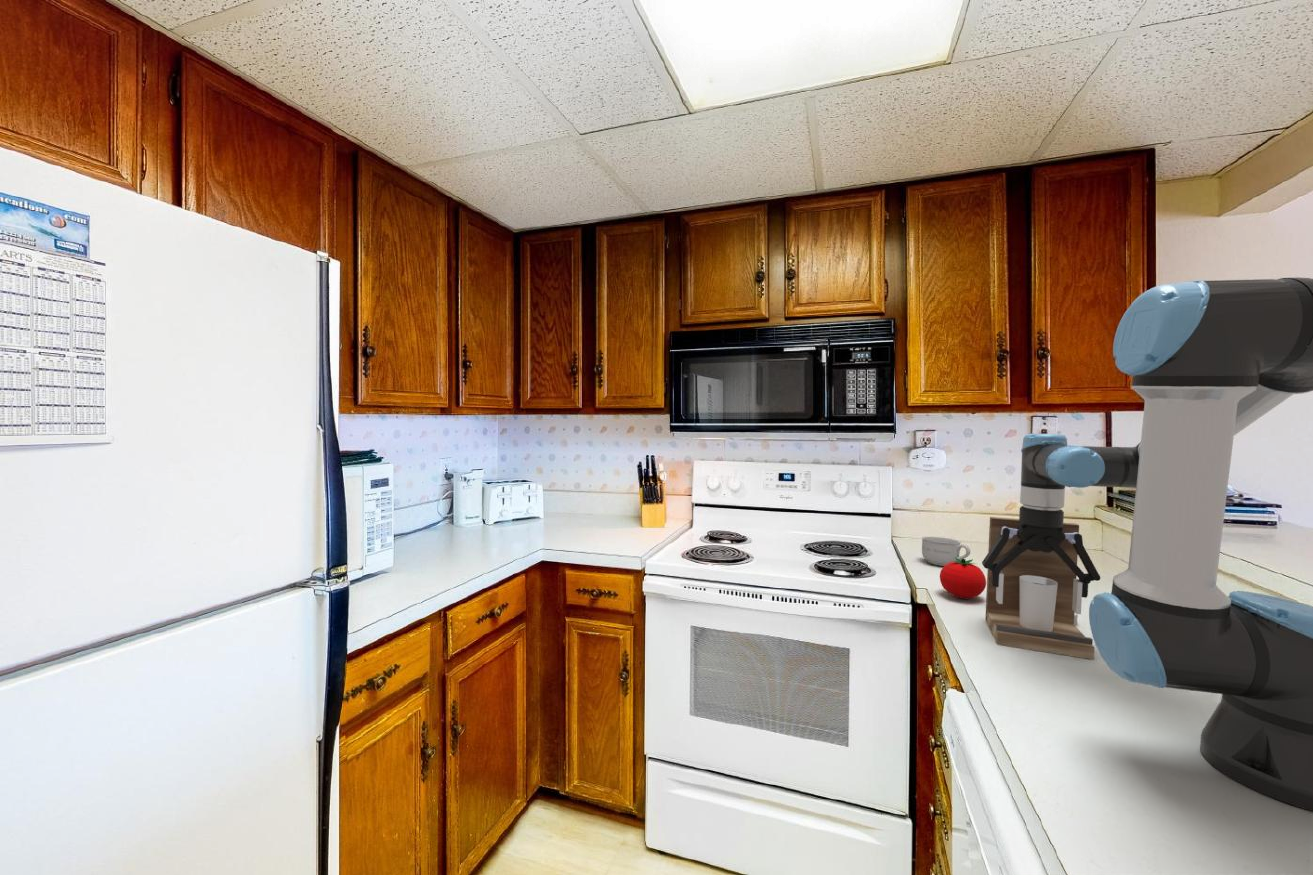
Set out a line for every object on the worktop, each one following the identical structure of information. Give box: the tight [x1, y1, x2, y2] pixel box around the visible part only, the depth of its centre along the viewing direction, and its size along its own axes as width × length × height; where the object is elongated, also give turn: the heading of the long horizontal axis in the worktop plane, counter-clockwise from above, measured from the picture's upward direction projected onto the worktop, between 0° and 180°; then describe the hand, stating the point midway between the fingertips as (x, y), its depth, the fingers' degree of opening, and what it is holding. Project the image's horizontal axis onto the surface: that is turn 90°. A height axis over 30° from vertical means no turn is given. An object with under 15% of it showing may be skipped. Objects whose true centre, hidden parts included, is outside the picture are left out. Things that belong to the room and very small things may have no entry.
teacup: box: [921, 535, 971, 567], centre depth 166 cm, size 14×11×8 cm
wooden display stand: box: [984, 516, 1095, 660], centre depth 112 cm, size 14×16×24 cm
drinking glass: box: [1019, 575, 1058, 632], centre depth 112 cm, size 7×7×10 cm
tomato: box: [939, 557, 987, 599], centre depth 137 cm, size 10×10×10 cm
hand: (1036, 606), depth 112 cm, fingers open, 13 cm apart
